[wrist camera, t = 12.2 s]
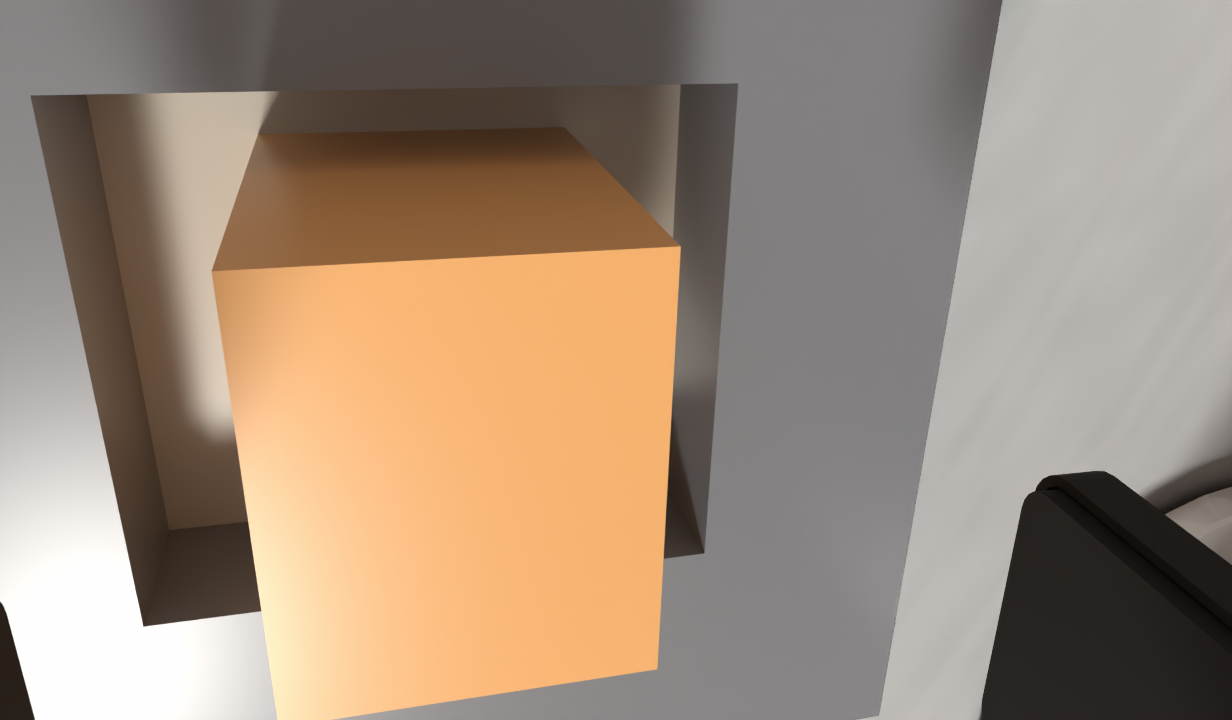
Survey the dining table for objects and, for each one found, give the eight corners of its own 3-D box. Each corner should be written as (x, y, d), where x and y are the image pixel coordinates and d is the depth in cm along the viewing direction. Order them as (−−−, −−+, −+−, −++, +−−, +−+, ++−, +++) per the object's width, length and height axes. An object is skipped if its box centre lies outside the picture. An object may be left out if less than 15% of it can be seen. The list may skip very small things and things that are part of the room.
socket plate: (924, -244, 15) (1049, -273, 12) (813, 616, 22) (878, 715, 19) (-345, -327, 11) (-551, -394, 9) (-14, 739, 18) (-74, 883, 15)
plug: (564, 127, 16) (680, 246, 10) (562, 439, 18) (657, 669, 13) (257, 134, 14) (210, 271, 9) (297, 465, 17) (278, 728, 11)
